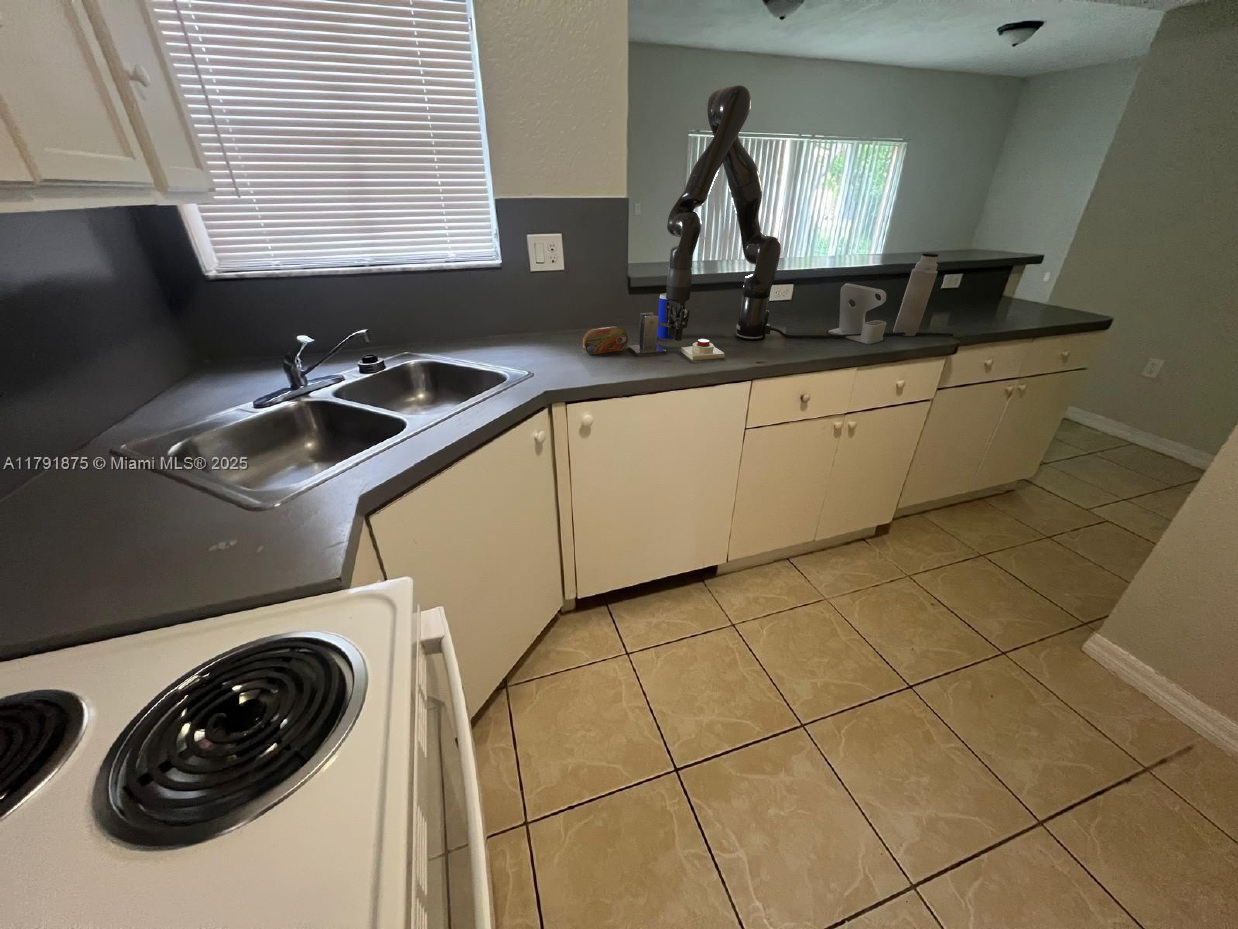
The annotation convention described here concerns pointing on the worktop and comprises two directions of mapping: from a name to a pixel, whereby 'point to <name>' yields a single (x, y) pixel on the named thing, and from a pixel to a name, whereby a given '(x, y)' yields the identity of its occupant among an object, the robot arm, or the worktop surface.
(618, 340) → the tin
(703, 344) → the button
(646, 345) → the press bracket
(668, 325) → the press lever
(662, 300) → the beverage can
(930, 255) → the thermos bottle
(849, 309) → the phone holder
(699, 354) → the button block
